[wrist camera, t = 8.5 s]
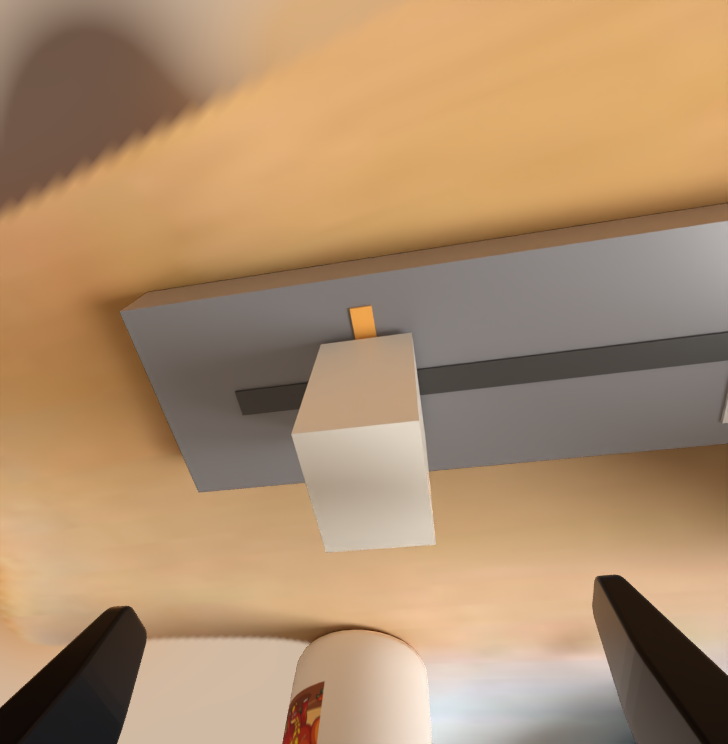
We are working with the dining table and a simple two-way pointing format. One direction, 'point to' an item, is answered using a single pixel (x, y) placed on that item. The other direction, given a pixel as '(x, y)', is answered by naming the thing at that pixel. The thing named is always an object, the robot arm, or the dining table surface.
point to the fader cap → (366, 446)
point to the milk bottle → (359, 692)
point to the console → (462, 347)
